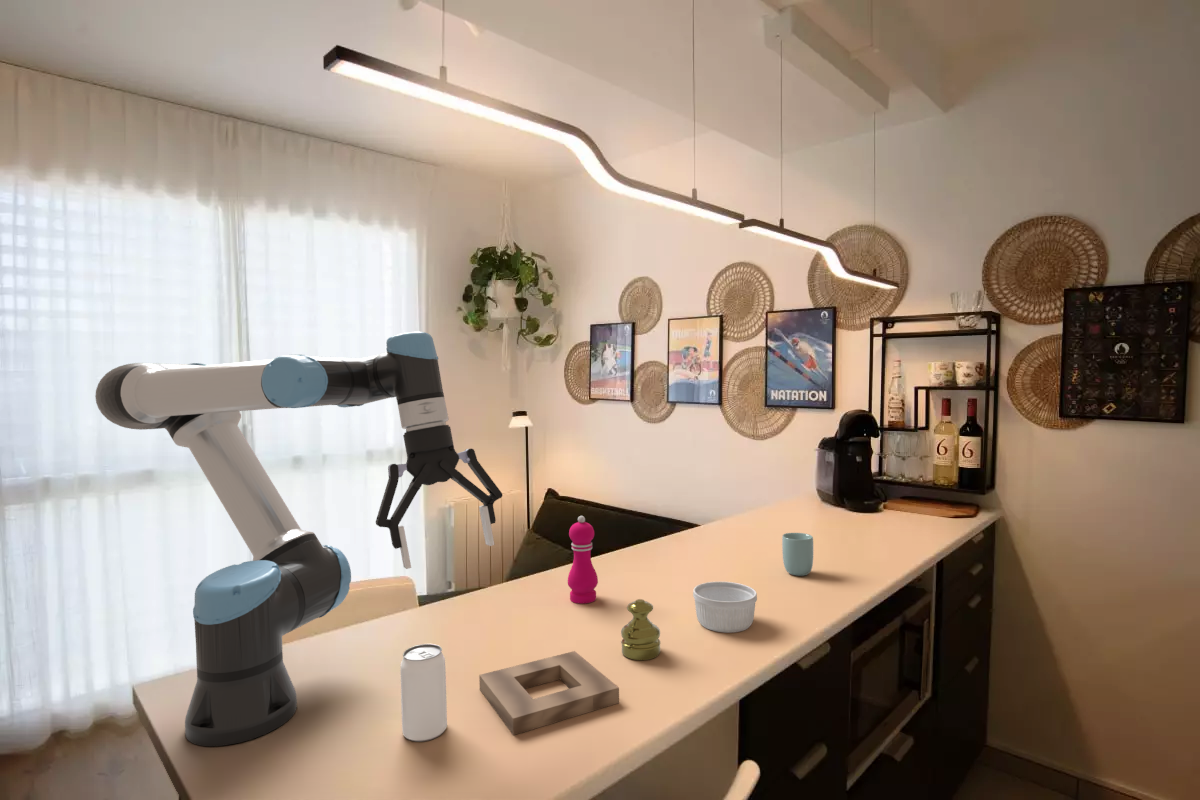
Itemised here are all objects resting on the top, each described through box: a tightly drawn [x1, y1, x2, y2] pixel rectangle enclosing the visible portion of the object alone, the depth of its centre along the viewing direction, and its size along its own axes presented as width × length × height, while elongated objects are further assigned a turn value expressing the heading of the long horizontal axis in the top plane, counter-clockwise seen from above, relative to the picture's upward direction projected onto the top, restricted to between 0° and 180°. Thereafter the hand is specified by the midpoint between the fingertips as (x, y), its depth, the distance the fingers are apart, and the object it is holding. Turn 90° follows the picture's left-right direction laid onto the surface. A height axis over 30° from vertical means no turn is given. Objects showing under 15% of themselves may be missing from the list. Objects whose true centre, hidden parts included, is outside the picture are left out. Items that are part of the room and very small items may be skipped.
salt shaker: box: [620, 598, 661, 661], centre depth 119 cm, size 7×7×10 cm
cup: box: [781, 532, 814, 577], centre depth 165 cm, size 8×8×10 cm
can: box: [399, 643, 448, 743], centre depth 93 cm, size 6×6×12 cm
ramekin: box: [692, 581, 758, 634], centre depth 132 cm, size 13×13×7 cm
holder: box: [478, 650, 620, 736], centre depth 103 cm, size 18×16×2 cm
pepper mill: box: [567, 515, 599, 605], centre depth 149 cm, size 7×7×20 cm
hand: (450, 555), depth 101 cm, fingers open, 13 cm apart
